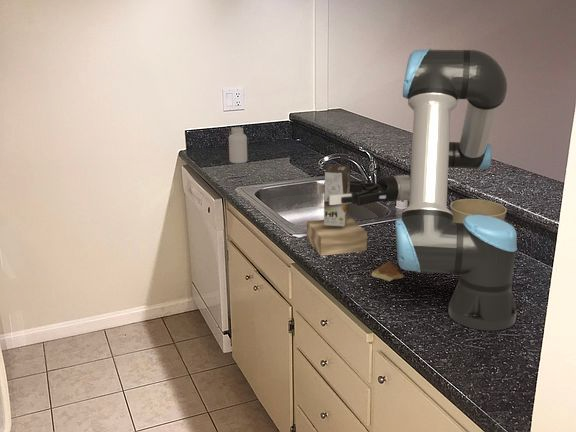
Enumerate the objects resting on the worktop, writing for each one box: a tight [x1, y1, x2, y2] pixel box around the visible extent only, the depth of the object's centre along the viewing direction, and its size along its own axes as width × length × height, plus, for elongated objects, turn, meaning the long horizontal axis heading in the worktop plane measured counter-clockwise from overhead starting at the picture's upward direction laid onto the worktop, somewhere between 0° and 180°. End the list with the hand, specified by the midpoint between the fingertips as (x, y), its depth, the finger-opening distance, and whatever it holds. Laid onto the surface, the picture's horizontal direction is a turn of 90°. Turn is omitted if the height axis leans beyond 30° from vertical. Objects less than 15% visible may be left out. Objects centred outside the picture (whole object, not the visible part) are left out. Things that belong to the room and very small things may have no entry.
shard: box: [371, 259, 405, 282], centre depth 177 cm, size 11×8×2 cm
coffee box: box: [323, 164, 351, 226], centre depth 192 cm, size 9×6×16 cm
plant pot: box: [449, 198, 508, 223], centre depth 182 cm, size 15×15×16 cm
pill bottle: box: [228, 126, 248, 164], centre depth 290 cm, size 8×8×15 cm
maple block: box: [306, 217, 368, 256], centre depth 196 cm, size 14×14×6 cm
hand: (323, 194), depth 191 cm, fingers closed on coffee box, 10 cm apart
